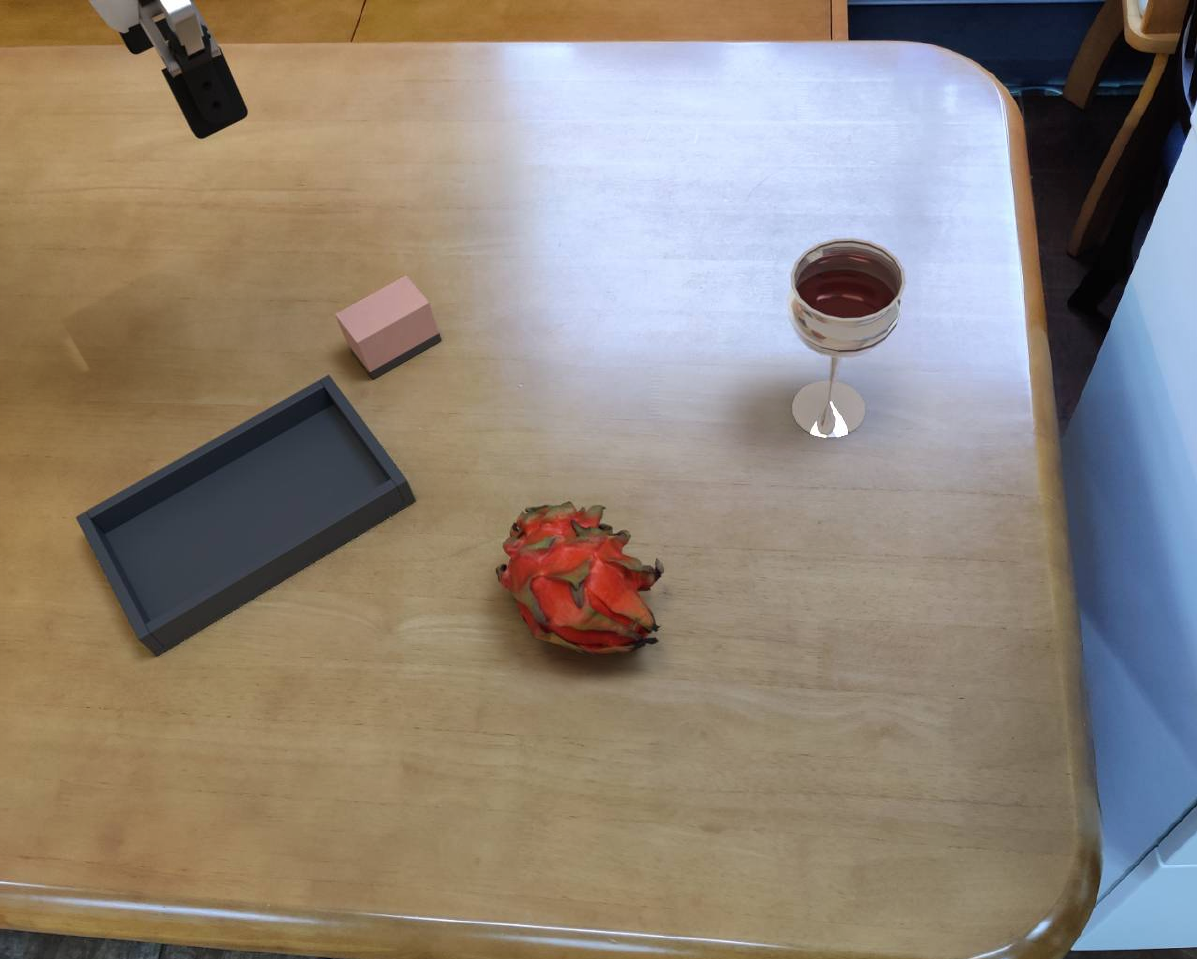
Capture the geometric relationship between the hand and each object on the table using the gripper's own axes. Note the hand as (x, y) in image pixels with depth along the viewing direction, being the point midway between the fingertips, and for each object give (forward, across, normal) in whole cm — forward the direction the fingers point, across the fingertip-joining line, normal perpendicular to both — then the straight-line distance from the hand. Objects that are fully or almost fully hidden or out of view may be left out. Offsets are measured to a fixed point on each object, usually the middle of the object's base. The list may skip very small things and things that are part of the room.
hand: (187, 83), depth 60 cm
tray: (+22, +11, -10) cm, 27 cm away
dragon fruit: (+22, +31, +4) cm, 39 cm away
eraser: (+22, +4, +5) cm, 23 cm away
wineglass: (+22, +28, +26) cm, 44 cm away
